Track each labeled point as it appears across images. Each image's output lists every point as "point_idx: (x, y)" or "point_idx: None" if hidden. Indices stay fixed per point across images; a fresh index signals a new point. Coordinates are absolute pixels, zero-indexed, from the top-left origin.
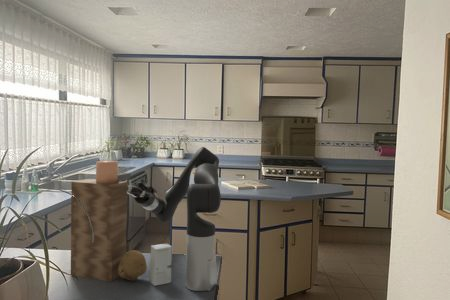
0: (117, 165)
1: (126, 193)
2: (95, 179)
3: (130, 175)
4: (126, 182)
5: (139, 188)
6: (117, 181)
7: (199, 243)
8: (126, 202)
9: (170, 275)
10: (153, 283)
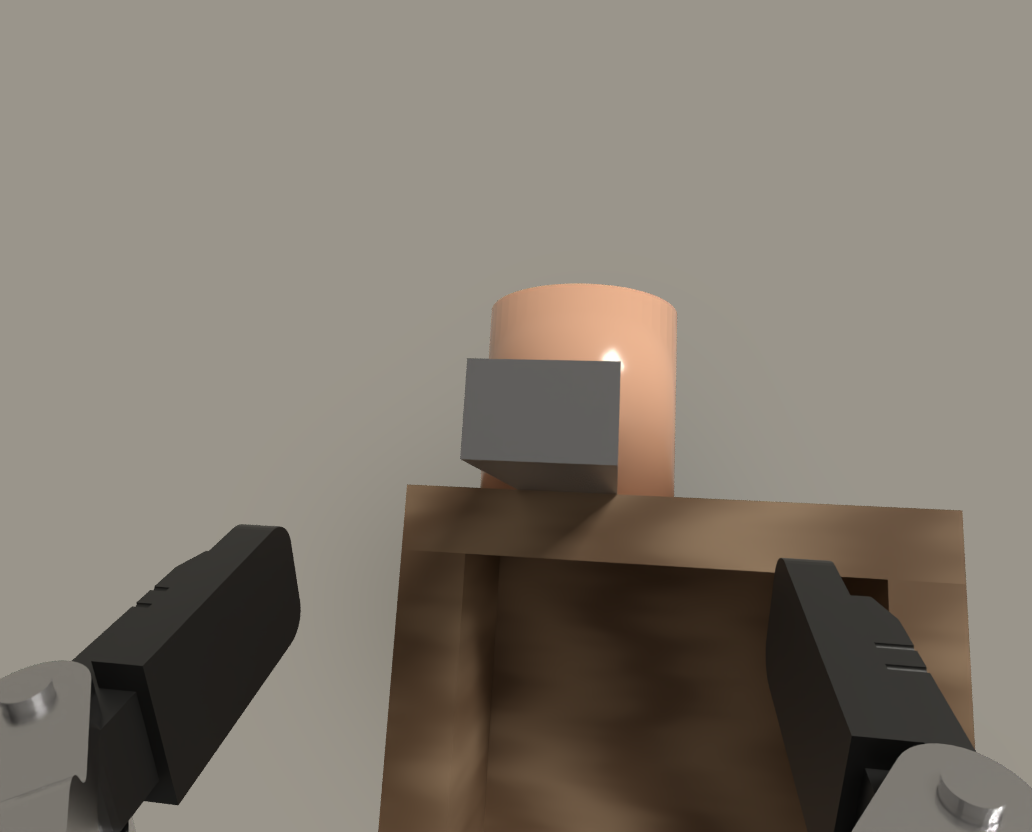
0: (490, 337)
1: (399, 617)
2: (825, 505)
3: (466, 404)
4: (410, 492)
5: (257, 681)
6: (482, 484)
7: None
8: (389, 728)
9: None
10: None
